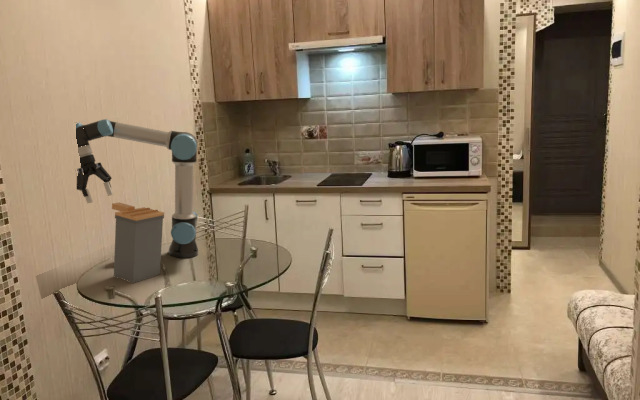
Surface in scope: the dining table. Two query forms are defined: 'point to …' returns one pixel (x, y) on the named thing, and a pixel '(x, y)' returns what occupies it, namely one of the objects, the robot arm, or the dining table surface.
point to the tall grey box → (137, 248)
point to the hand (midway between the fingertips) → (100, 198)
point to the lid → (135, 212)
